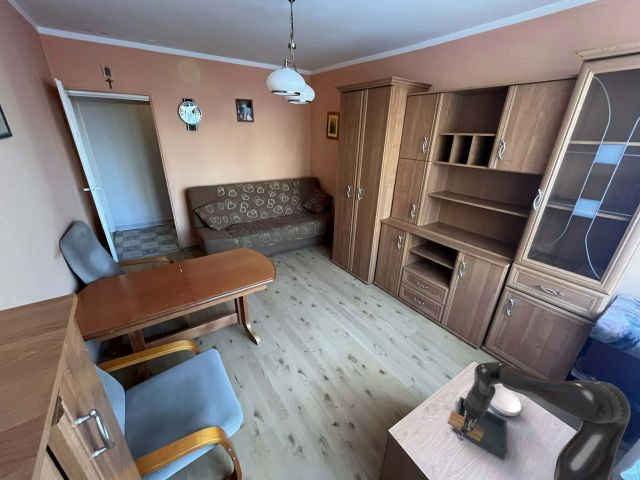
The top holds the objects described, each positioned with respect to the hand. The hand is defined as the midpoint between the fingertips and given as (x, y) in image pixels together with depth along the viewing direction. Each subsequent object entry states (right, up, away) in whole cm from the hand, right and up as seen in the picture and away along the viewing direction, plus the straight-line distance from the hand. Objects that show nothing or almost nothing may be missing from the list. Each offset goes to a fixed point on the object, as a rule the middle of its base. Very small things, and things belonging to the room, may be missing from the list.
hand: (464, 427), depth 109 cm
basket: (+14, -10, +13) cm, 21 cm away
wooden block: (-1, -2, -1) cm, 2 cm away
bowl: (+30, -6, +23) cm, 38 cm away
